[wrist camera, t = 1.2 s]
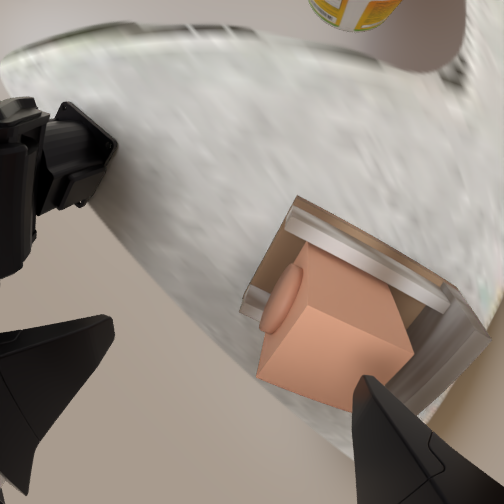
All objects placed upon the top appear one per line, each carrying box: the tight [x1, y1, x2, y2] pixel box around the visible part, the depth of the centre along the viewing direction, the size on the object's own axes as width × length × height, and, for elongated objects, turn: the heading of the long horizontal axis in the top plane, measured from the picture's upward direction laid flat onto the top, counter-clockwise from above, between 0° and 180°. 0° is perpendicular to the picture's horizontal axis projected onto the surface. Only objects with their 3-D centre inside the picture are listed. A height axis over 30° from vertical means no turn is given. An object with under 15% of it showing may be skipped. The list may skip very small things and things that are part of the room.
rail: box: [239, 196, 492, 416], centre depth 19 cm, size 14×8×7 cm, turn 65°
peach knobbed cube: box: [256, 241, 414, 413], centre depth 17 cm, size 7×5×8 cm
